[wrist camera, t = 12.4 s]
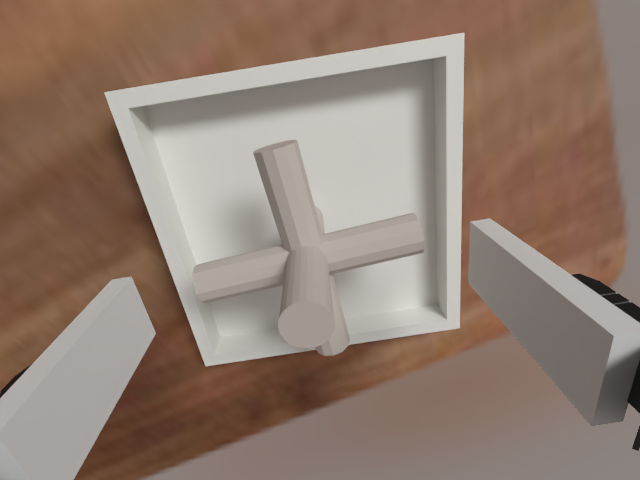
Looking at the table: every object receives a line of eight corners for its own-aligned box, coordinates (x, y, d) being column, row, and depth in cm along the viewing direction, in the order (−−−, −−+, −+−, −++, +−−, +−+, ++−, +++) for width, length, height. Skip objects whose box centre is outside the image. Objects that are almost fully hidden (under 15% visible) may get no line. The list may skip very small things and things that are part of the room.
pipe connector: (404, 273, 22) (474, 405, 13) (252, 307, 23) (214, 457, 13) (376, 107, 18) (446, 126, 9) (193, 155, 19) (82, 219, 10)
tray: (214, 340, 25) (205, 366, 22) (129, 91, 18) (103, 92, 16) (444, 305, 24) (459, 328, 22) (443, 39, 18) (464, 32, 15)
